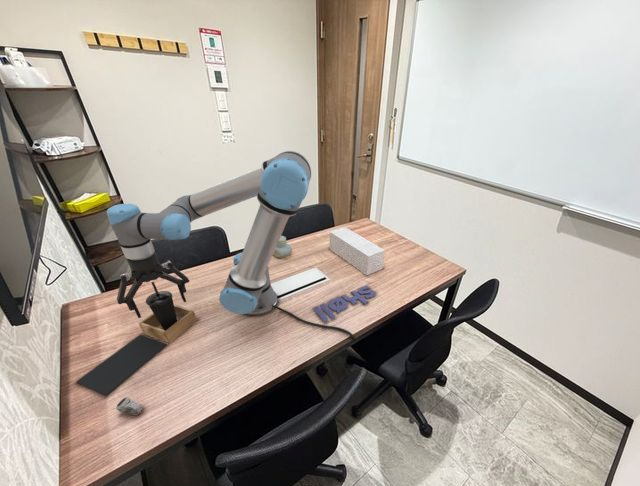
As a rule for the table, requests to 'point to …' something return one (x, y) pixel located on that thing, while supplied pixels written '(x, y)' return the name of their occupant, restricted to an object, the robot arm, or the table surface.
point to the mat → (121, 365)
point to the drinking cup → (162, 307)
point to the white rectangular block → (357, 250)
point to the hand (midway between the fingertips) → (162, 307)
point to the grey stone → (128, 402)
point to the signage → (343, 303)
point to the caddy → (172, 332)
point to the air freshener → (282, 248)
